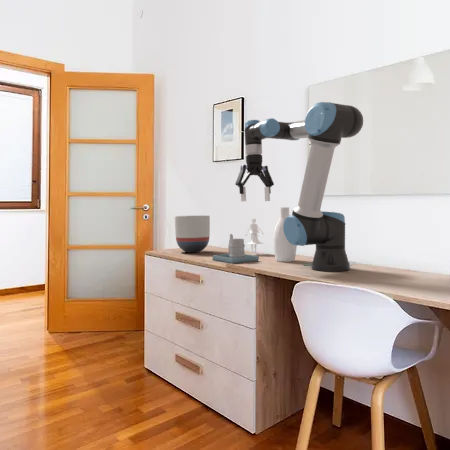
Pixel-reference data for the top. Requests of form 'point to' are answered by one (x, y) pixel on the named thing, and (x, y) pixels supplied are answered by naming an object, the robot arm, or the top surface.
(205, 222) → the planter
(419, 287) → the top surface
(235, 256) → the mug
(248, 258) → the tray
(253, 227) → the figurine
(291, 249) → the bottle
